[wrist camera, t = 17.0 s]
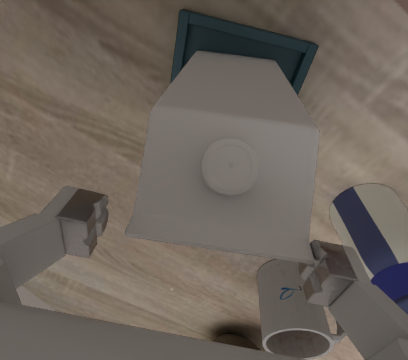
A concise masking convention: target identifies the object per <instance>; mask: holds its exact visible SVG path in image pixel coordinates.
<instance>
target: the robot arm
mask: <svg viewBox="0 0 408 360" xmlns="http://www.w3.org/2000/svg"><path fill="white" fill-rule="evenodd" d="M107 204H108V196H107V195H105V194H101V193H97V192H93V191H89V190H85V189H79V188H75V187H71V186H65V187H63V188H62V190H61V191H60V192H59V193H58V194H57V195H56V196H55V197H54V198H53V200H52V201H51V202H50V203H49V204H48V205H47V206H46V207H45V208H44V210H43V211H42V212H41V213H40V214H33V215H30V216H28V217H25V218H23V219H21V220H18V221H16V222H13V223H11V224H8V225H6V226H3V227H1V228H0V360H306V359H301V358H296V357H291V356H285V355H280V354H275V353H270V352H265V351H260V350H254V349H249V348H244V347H239V346H234V345H228V344H223V343H218V342H213V341H208V340H202V339H197V338H192V337H187V336H181V335H176V334H171V333H166V332H161V331H155V330H150V329H145V328H140V327H135V326H129V325H124V324H119V323H114V322H108V321H103V320H98V319H93V318H88V317H82V316H77V315H72V314H67V313H62V312H56V311H51V310H46V309H41V308H35V307H30V306H25V305H21V301H20V298H19V296H18V294H17V291H16V289H17V288H18V287H20V286H21V285H22V284H24V283H25V282H27V281H28V280H30V279H31V278H33V277H34V276H36V275H37V274H39V273H40V272H42V271H43V270H45V269H46V268H47V267H49V266H50V265H52V264H53V263H55V262H56V261H58V260H59V259H61V258H62V257H64V256H65V254H69V255H75V256H80V257H86V258H89V257H90V256H91V254H92V252H93V250H94V248H95V247H96V245H97V237H99V236H100V235H102V234H103V232H104V230H105V228H106V225H107V222H108V210H107V209H106V206H107ZM310 246H311V249H312V253H313V256H314V260H315V261H314V263H313V264H306V263H300V262H299V272H300V276H301V277H302V278H303V280H304V281H305V284H304V285H303V289H304V292H305V296H306V300H307V303H312V304H316V305H320V306H325V307H329V308H328V309H329V311H330V312H331V313H332V315H333V316H334V317H335V319H336V320H337V322H338V323H339V324H340V326H341V327H342V329H343V330H344V331H345V333H346V334H347V336H348V337H349V338H350V340H351V341H352V343H353V344H354V345H355V347H356V348H357V350H358V351H359V352H360V354H361V355H362V356H363V358H364V359H365V360H408V314H407V313H406V312H405V311H403V310H402V309H401V308H400V307H399V306H398V305H397V304H396V303H395V302H394V301H393V300H392V299H390V298H389V297H388V296H387V295H386V294H385V293H384V292H383V291H382V290H381V289H380V288H379V287H378V286H376V285H373V284H372V283H371V281H370V279H369V277H368V275H367V273H366V271H365V269H364V267H363V265H362V263H361V261H360V259H359V257H358V255H357V253H356V251H355V249H353V248H352V247H348V246H343V245H338V244H333V243H328V242H323V241H319V240H313V241H312V242H311V243H310Z"/></svg>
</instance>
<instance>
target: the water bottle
mask: <svg viewBox="0 0 408 360" xmlns="http://www.w3.org/2000/svg"><path fill="white" fill-rule="evenodd" d="M329 217H330V219H331V221H332V223H333V225H334V227H335V229H336V231H337V233H338V235H339V237H340V239H341V241H342V243H343V245H344V246H348V247H352V248H353V249H355V251H356V253H357V255H358V257H359V259H360V261H361V263H362V265H363V267H364V269H365V271H366V273H367V275H368V277H369V279H370V281H371V283H372V284H373V285H376V286H378V287H379V288H380V289H381V290H382V291H383V292H384V293H385V294H386V295H387V296H388V297H389V298H390V299H392V300H393V301H394V302H395V303H396V304H397V305H398V306H399V307H400V308H401V309H402V310H403V311H405V312H406V313H407V314H408V211H407V209H406V208H405V206H404V205H403V203H402V202H401V200H400V199H399V198H398V196H397V195H396V193H395V192H394V191H393V190H392V189H391V188H389V187H387V186H385V185H381V184H362V185H358V186H355V187H352V188H350V189H347V190H346V191H344V192H342V193H341V194H340V195H338V196H337V197H336V198H335V200H334V201H333V202H332V204H331V206H330V209H329Z"/></svg>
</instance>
